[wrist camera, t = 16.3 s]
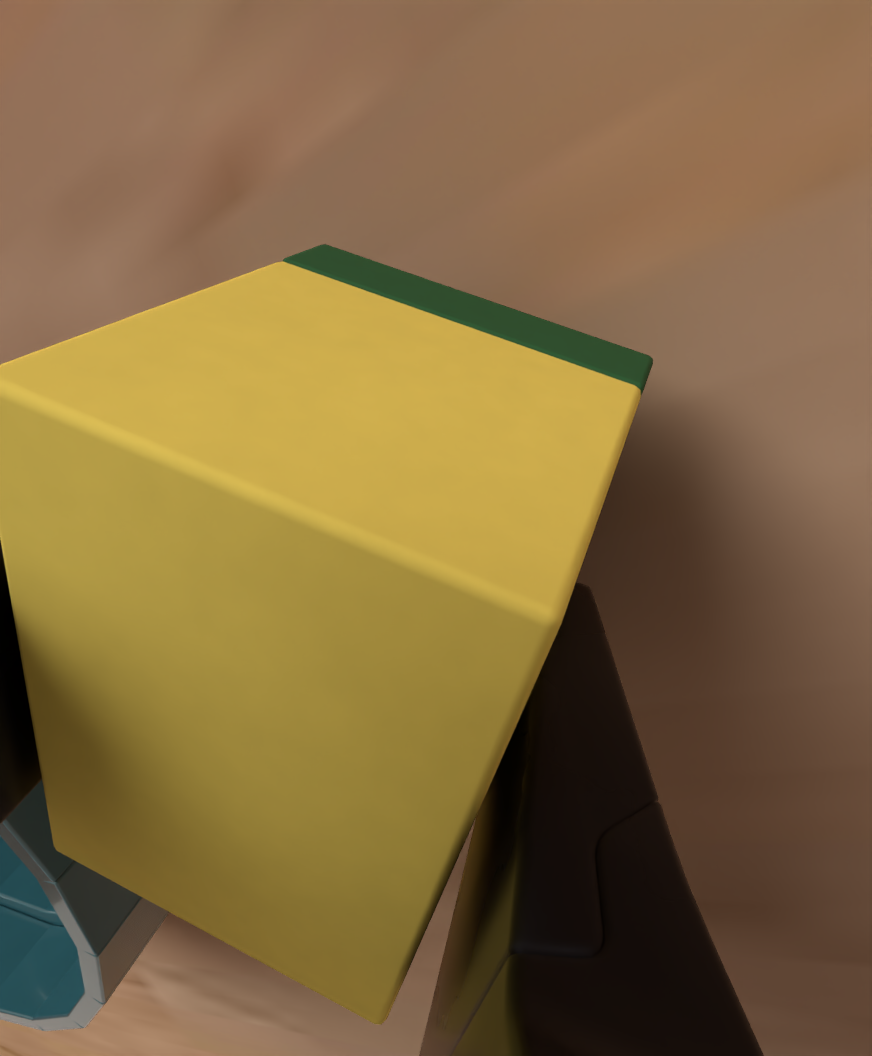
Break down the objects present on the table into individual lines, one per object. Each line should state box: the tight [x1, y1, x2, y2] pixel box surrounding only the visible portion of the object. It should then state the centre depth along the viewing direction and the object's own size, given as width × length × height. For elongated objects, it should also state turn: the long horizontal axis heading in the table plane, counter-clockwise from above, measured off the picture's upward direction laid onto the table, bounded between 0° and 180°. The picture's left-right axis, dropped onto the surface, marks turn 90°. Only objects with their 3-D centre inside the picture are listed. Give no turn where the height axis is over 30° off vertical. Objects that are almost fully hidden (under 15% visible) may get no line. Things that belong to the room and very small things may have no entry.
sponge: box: [0, 244, 653, 1024], centre depth 8 cm, size 6×4×5 cm
